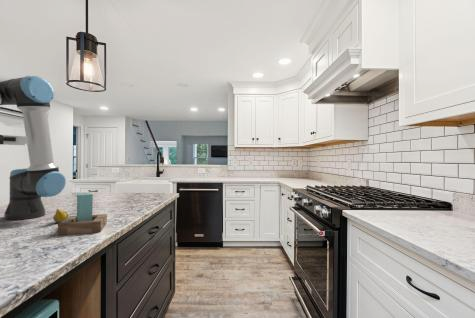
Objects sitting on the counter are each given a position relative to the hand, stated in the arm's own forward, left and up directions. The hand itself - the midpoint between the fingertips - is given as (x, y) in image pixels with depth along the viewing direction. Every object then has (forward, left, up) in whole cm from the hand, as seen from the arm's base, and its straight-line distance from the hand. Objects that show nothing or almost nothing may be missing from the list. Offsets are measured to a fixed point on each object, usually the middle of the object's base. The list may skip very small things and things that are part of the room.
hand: (26, 141), depth 96 cm
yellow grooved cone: (-11, +9, -35) cm, 38 cm away
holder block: (+3, +21, -35) cm, 41 cm away
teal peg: (+3, +21, -35) cm, 41 cm away
